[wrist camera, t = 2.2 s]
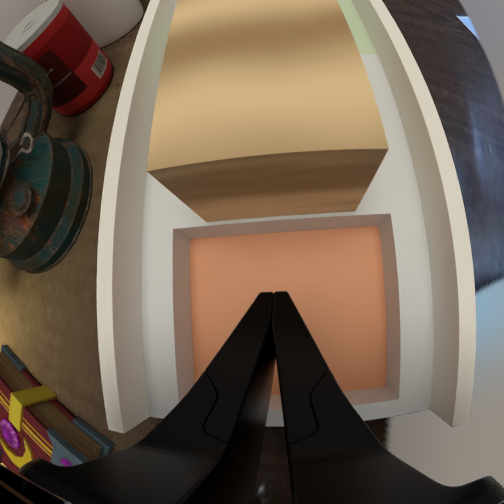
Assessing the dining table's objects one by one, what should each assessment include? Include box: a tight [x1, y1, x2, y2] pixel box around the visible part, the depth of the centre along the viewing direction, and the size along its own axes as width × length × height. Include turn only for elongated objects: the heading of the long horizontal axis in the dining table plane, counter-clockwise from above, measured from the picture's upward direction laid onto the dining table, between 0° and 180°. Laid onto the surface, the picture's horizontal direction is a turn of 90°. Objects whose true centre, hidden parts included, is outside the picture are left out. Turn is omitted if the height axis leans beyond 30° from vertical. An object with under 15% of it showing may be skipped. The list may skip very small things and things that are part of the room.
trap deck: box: [97, 0, 476, 433], centre depth 17 cm, size 40×18×6 cm, turn 2°
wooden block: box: [147, 0, 389, 222], centre depth 14 cm, size 12×8×7 cm, turn 2°
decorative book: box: [0, 345, 114, 500], centre depth 17 cm, size 11×16×5 cm
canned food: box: [3, 0, 113, 116], centre depth 19 cm, size 8×8×11 cm
